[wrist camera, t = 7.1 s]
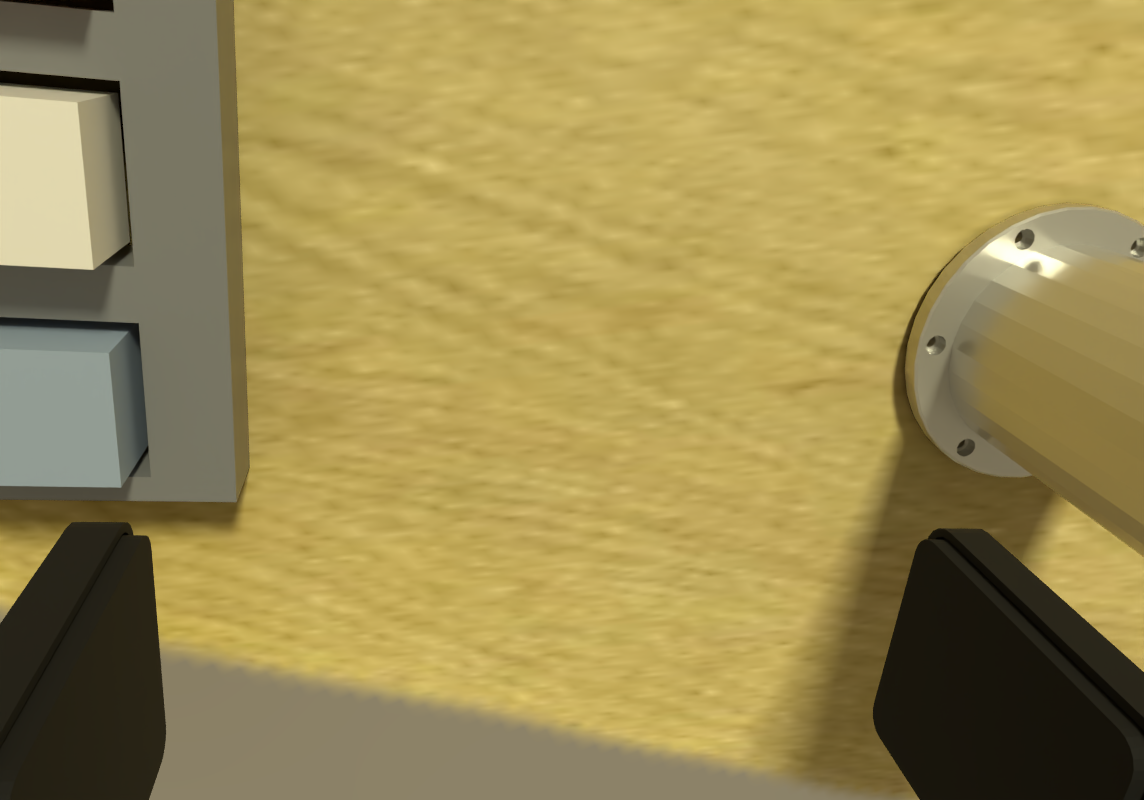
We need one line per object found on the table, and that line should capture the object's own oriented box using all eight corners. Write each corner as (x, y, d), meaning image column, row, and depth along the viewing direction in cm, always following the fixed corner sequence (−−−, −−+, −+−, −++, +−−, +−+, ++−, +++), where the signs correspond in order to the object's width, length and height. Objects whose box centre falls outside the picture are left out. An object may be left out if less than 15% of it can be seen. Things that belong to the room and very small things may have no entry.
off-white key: (118, 92, 30) (77, 102, 27) (130, 241, 32) (93, 269, 29) (-49, 78, 29) (-115, 86, 26) (-27, 232, 31) (-86, 260, 28)
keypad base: (225, -216, 29) (205, -241, 26) (249, 467, 38) (236, 502, 35) (-207, -280, 27) (-278, -314, 24) (-74, 461, 35) (-115, 498, 33)
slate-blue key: (141, 317, 34) (108, 353, 30) (151, 439, 36) (121, 487, 32) (-6, 310, 33) (-59, 346, 29) (11, 436, 35) (-36, 485, 31)
